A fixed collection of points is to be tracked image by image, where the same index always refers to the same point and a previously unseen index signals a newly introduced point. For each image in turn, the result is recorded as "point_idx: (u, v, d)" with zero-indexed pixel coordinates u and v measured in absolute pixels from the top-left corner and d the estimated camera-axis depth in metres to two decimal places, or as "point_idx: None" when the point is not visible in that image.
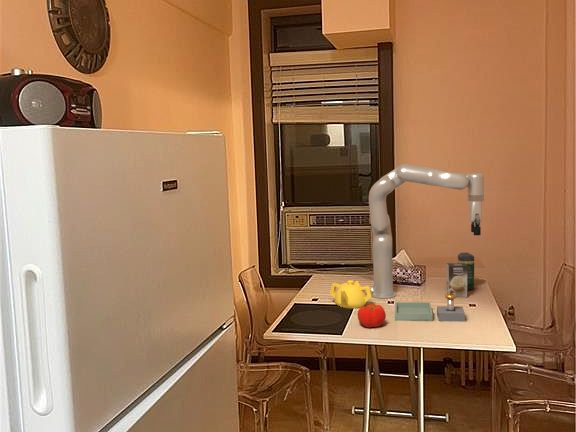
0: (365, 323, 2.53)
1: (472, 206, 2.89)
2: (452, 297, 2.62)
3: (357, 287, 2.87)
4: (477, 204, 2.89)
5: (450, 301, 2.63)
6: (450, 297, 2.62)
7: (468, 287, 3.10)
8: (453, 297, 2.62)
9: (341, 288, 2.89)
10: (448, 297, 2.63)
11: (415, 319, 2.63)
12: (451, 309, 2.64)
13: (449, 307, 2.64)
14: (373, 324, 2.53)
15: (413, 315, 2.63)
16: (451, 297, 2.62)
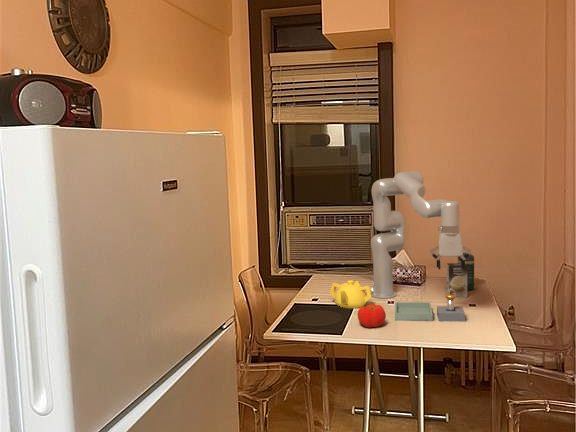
0: (365, 323, 2.53)
1: (461, 237, 2.58)
2: (452, 297, 2.62)
3: (357, 287, 2.87)
4: None
5: (450, 301, 2.63)
6: (450, 297, 2.62)
7: (468, 287, 3.10)
8: (453, 297, 2.62)
9: (341, 288, 2.89)
10: (448, 297, 2.63)
11: (415, 319, 2.63)
12: (451, 309, 2.64)
13: (449, 307, 2.64)
14: (373, 324, 2.53)
15: (413, 315, 2.63)
16: (451, 297, 2.62)
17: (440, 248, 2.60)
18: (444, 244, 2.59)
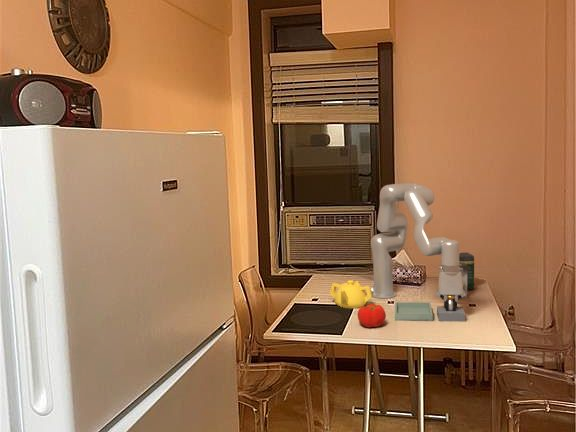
0: (365, 323, 2.53)
1: (461, 276, 2.60)
2: (452, 297, 2.62)
3: (357, 287, 2.87)
4: None
5: (450, 301, 2.63)
6: (450, 297, 2.62)
7: (468, 287, 3.10)
8: (453, 297, 2.62)
9: (341, 288, 2.89)
10: (448, 297, 2.63)
11: (415, 319, 2.63)
12: (451, 309, 2.64)
13: (449, 307, 2.64)
14: (373, 324, 2.53)
15: (413, 315, 2.63)
16: (451, 297, 2.62)
17: (440, 287, 2.62)
18: (444, 283, 2.61)
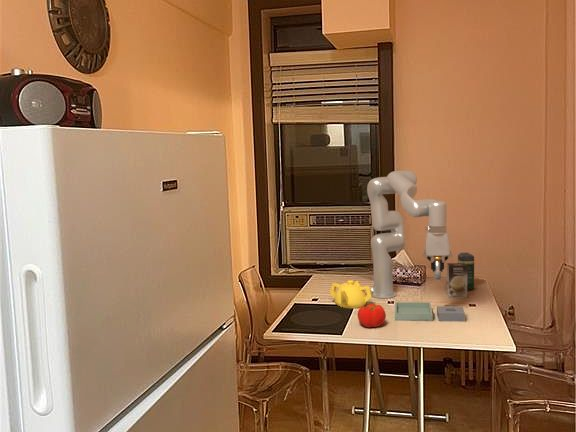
0: (365, 323, 2.53)
1: (448, 237, 2.61)
2: (439, 258, 2.62)
3: (357, 287, 2.87)
4: None
5: (437, 262, 2.64)
6: (437, 258, 2.62)
7: (468, 287, 3.10)
8: (440, 258, 2.63)
9: (341, 288, 2.89)
10: (435, 258, 2.63)
11: (415, 319, 2.63)
12: (438, 270, 2.64)
13: (436, 268, 2.64)
14: (373, 324, 2.53)
15: (413, 315, 2.63)
16: (438, 258, 2.62)
17: (427, 248, 2.62)
18: (431, 244, 2.61)
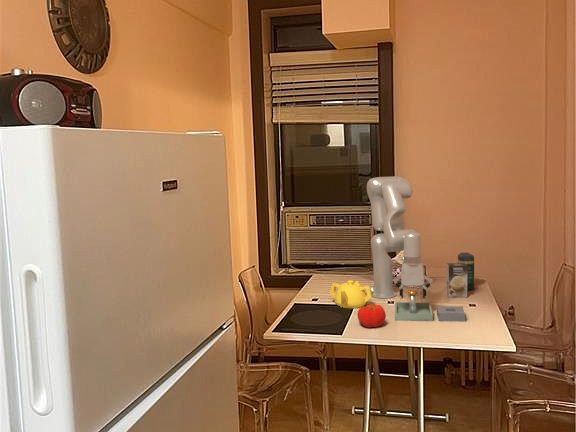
0: (365, 323, 2.53)
1: (422, 268, 2.67)
2: (413, 293, 2.69)
3: (357, 287, 2.87)
4: None
5: (412, 297, 2.70)
6: (412, 293, 2.69)
7: (468, 287, 3.10)
8: (414, 293, 2.69)
9: (341, 288, 2.89)
10: (410, 293, 2.70)
11: (415, 319, 2.63)
12: (413, 305, 2.70)
13: (411, 303, 2.71)
14: (373, 324, 2.53)
15: (413, 315, 2.63)
16: (412, 293, 2.69)
17: (402, 278, 2.68)
18: (406, 274, 2.68)
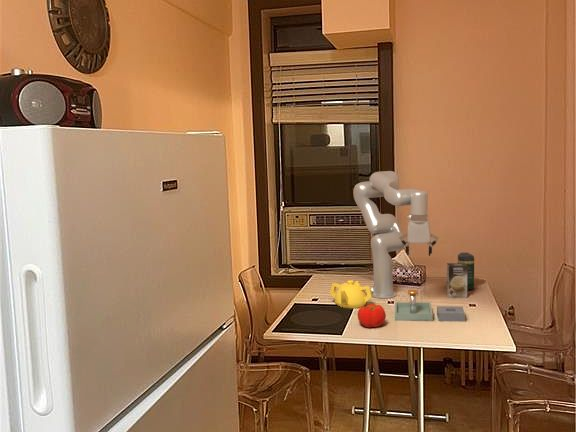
0: (365, 323, 2.53)
1: (428, 225, 2.72)
2: (414, 293, 2.69)
3: (357, 287, 2.87)
4: None
5: (412, 297, 2.70)
6: (412, 293, 2.69)
7: (468, 287, 3.10)
8: (415, 293, 2.69)
9: (341, 288, 2.89)
10: (410, 293, 2.69)
11: (415, 319, 2.63)
12: (413, 305, 2.70)
13: (411, 303, 2.71)
14: (373, 324, 2.53)
15: (413, 315, 2.63)
16: (413, 293, 2.69)
17: (408, 235, 2.74)
18: (412, 231, 2.74)
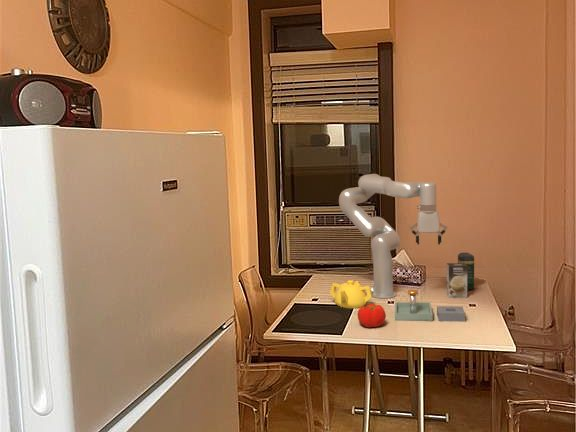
0: (365, 323, 2.53)
1: (438, 215, 2.83)
2: (414, 293, 2.69)
3: (357, 287, 2.87)
4: (438, 213, 2.85)
5: (412, 297, 2.70)
6: (412, 293, 2.69)
7: (468, 287, 3.10)
8: (415, 293, 2.69)
9: (341, 288, 2.89)
10: (410, 293, 2.69)
11: (415, 319, 2.63)
12: (413, 305, 2.70)
13: (411, 303, 2.71)
14: (373, 324, 2.53)
15: (413, 315, 2.63)
16: (413, 293, 2.69)
17: (419, 225, 2.85)
18: (422, 221, 2.84)
